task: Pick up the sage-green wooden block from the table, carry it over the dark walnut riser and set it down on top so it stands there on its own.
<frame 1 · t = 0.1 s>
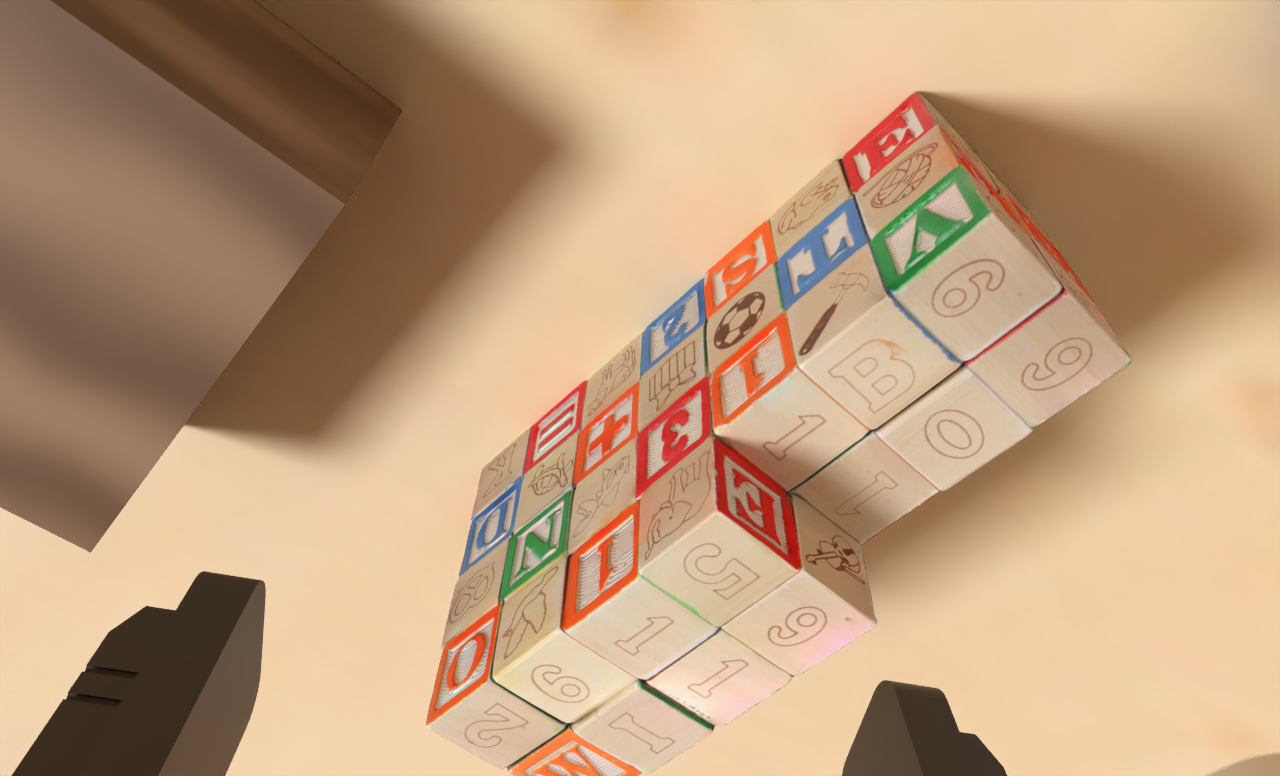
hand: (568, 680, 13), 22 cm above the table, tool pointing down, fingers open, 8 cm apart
stack of blocks: (730, 349, 37), on the table
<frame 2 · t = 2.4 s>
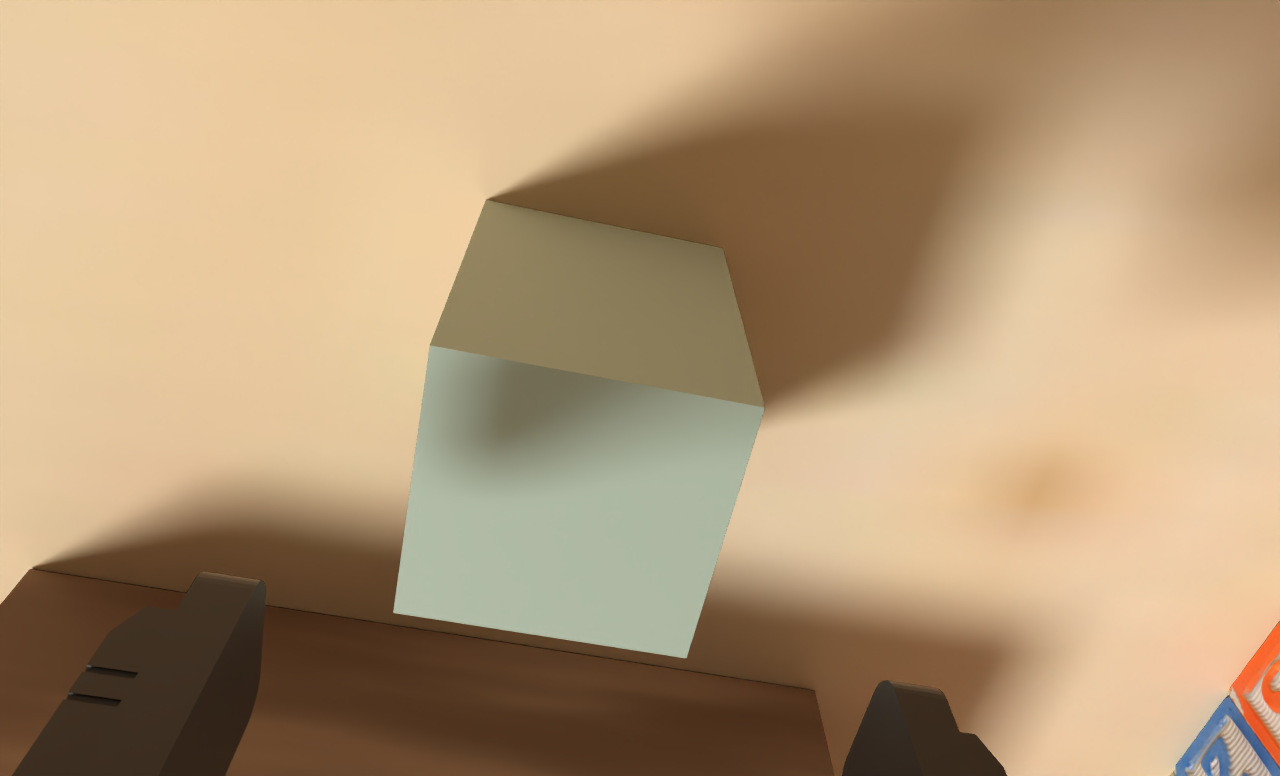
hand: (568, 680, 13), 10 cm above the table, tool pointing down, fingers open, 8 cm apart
sage block: (583, 331, 22), on the table
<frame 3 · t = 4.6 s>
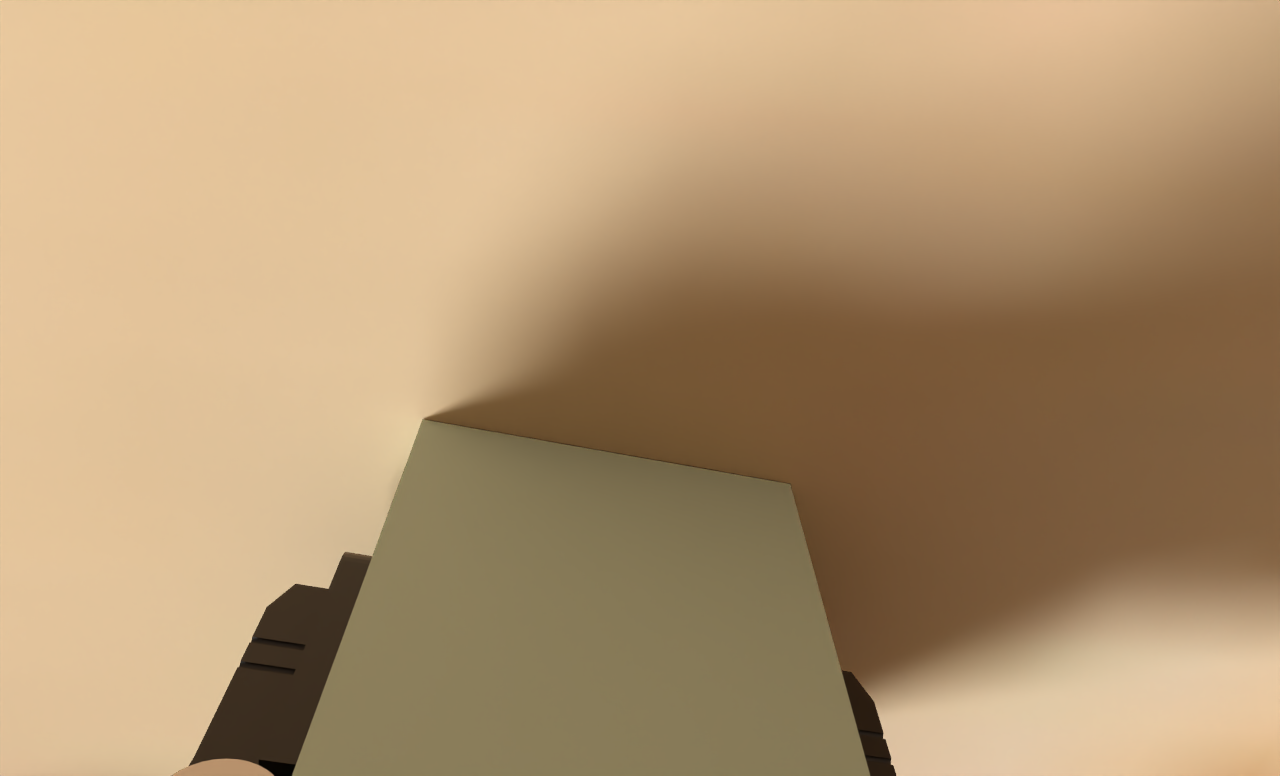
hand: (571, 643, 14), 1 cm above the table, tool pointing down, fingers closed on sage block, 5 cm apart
sage block: (576, 599, 15), on the table, touching gripper
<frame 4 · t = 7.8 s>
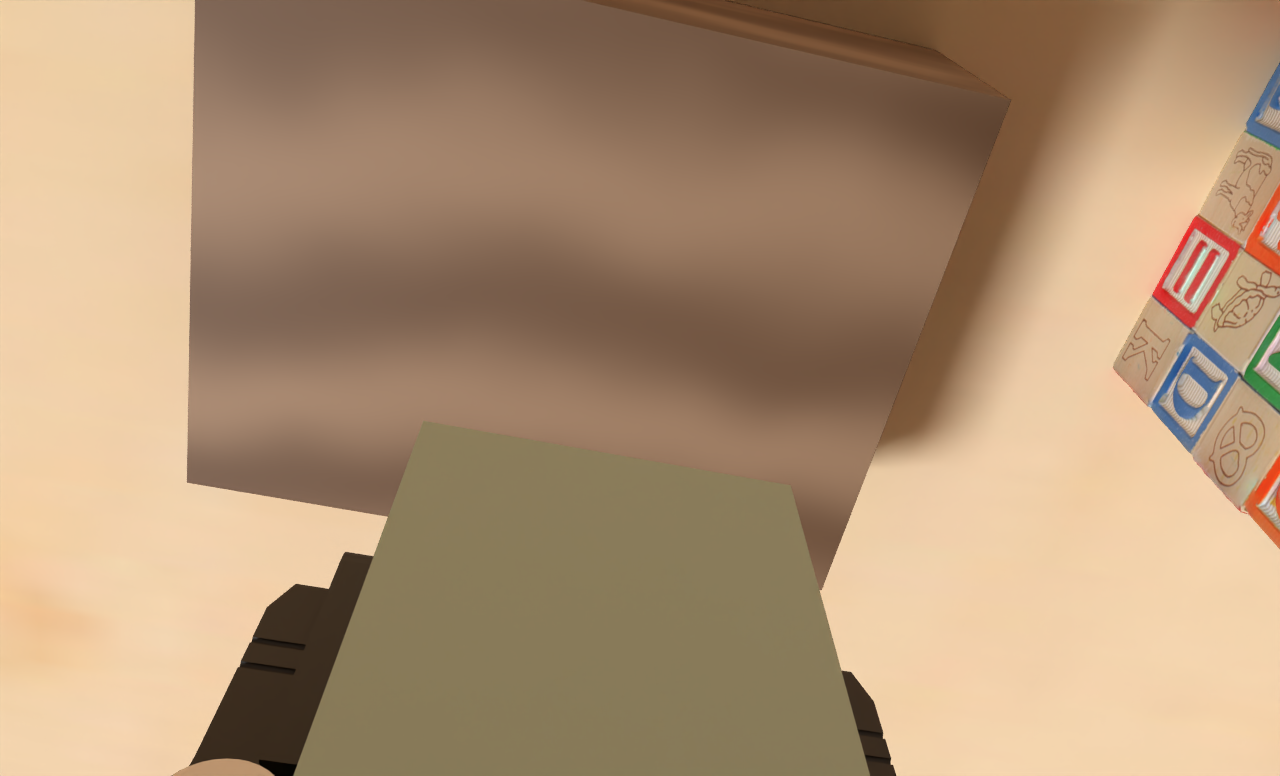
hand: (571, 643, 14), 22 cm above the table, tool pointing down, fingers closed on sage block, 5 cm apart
sage block: (576, 600, 15), point 21 cm above the table, touching gripper
walnut riser: (573, 224, 34), on the table
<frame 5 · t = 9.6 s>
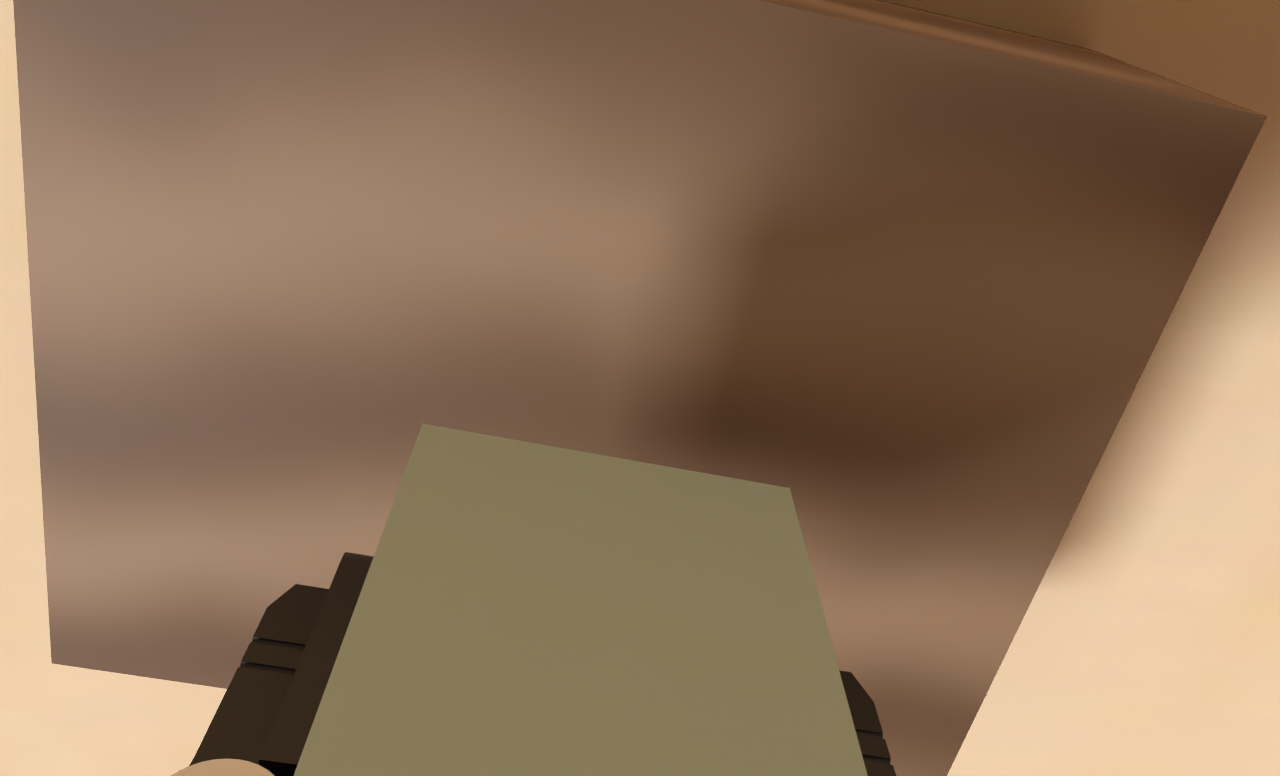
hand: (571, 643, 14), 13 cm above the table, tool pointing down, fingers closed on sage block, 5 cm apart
sage block: (575, 602, 15), point 12 cm above the table, touching gripper
walnut riser: (592, 289, 26), on the table
when the fingers open (9 cm above the table, at t = 11.3 s): sage block stays where it is, resting on walnut riser.
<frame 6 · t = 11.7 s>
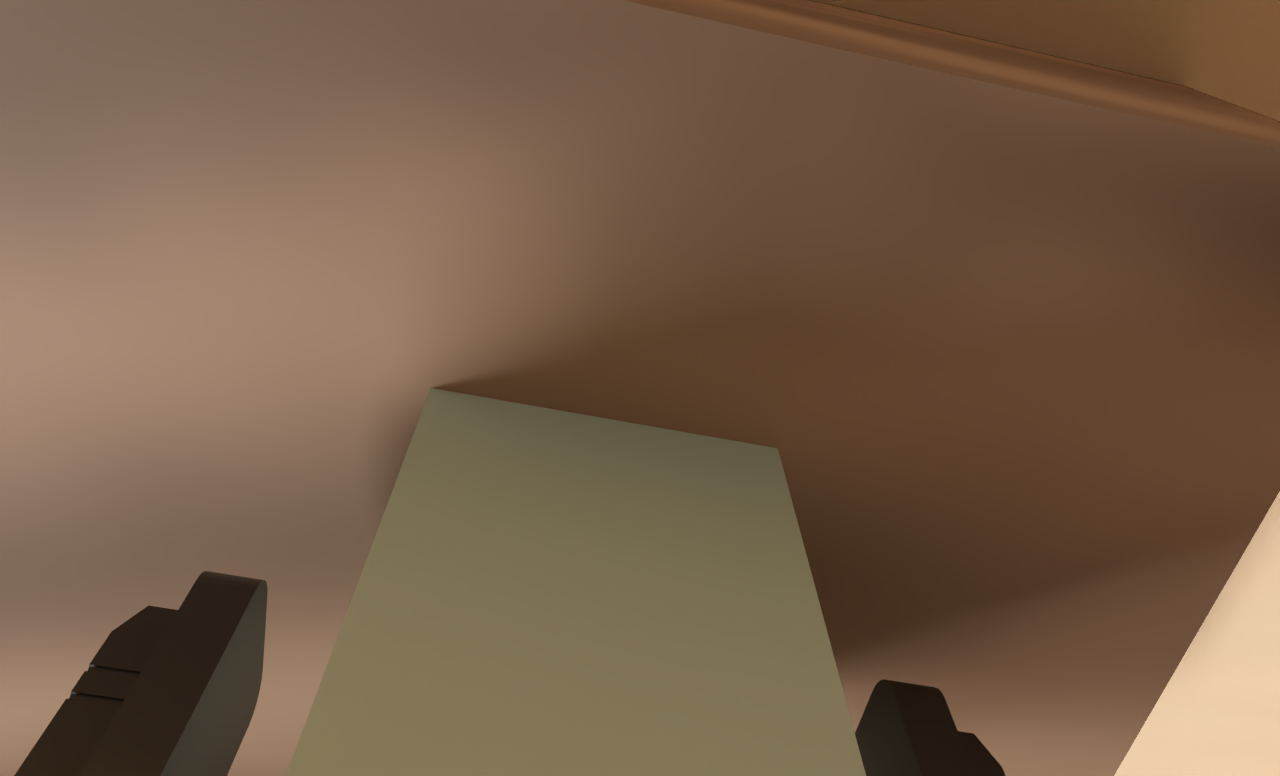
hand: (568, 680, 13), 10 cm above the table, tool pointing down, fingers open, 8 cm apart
sage block: (576, 560, 16), point 7 cm above the table, touching walnut riser
walnut riser: (590, 363, 22), on the table
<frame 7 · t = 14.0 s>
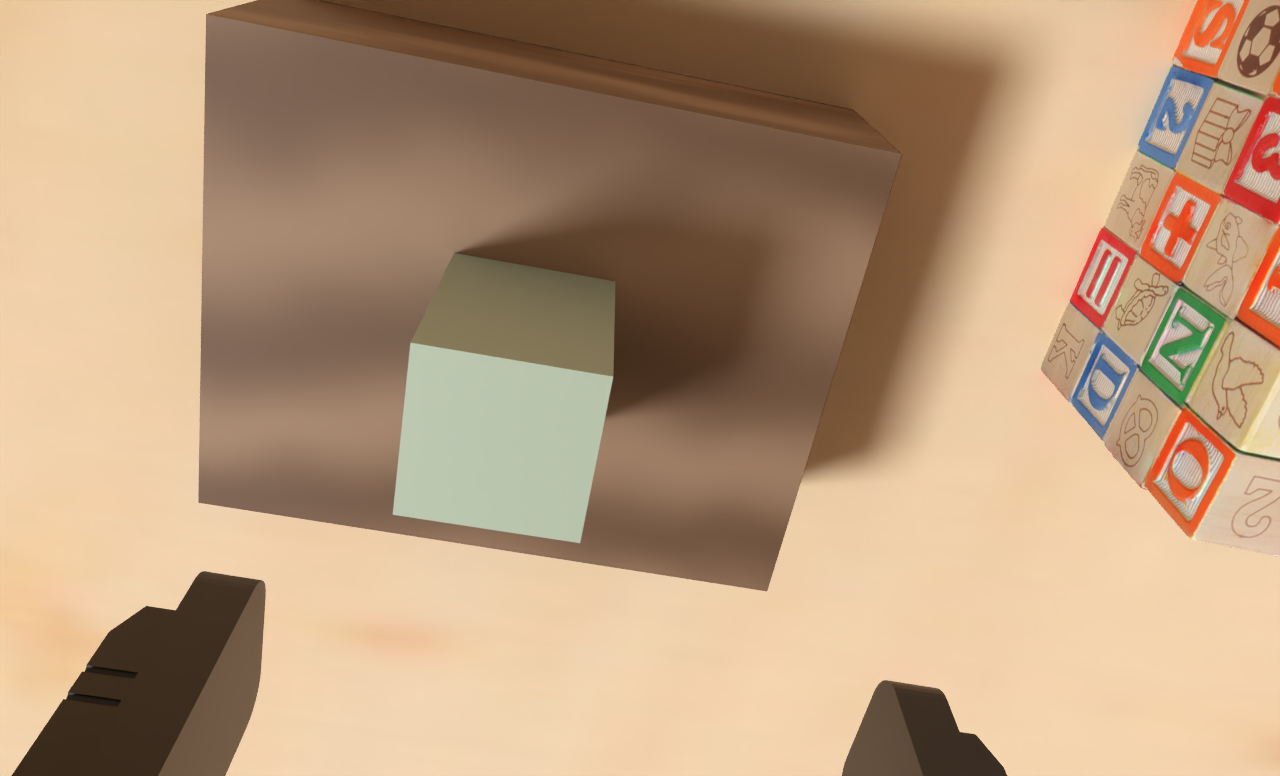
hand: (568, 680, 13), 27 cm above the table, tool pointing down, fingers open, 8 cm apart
sage block: (523, 341, 32), point 7 cm above the table, touching walnut riser
stack of blocks: (1224, 123, 37), on the table
walnut riser: (540, 269, 39), on the table
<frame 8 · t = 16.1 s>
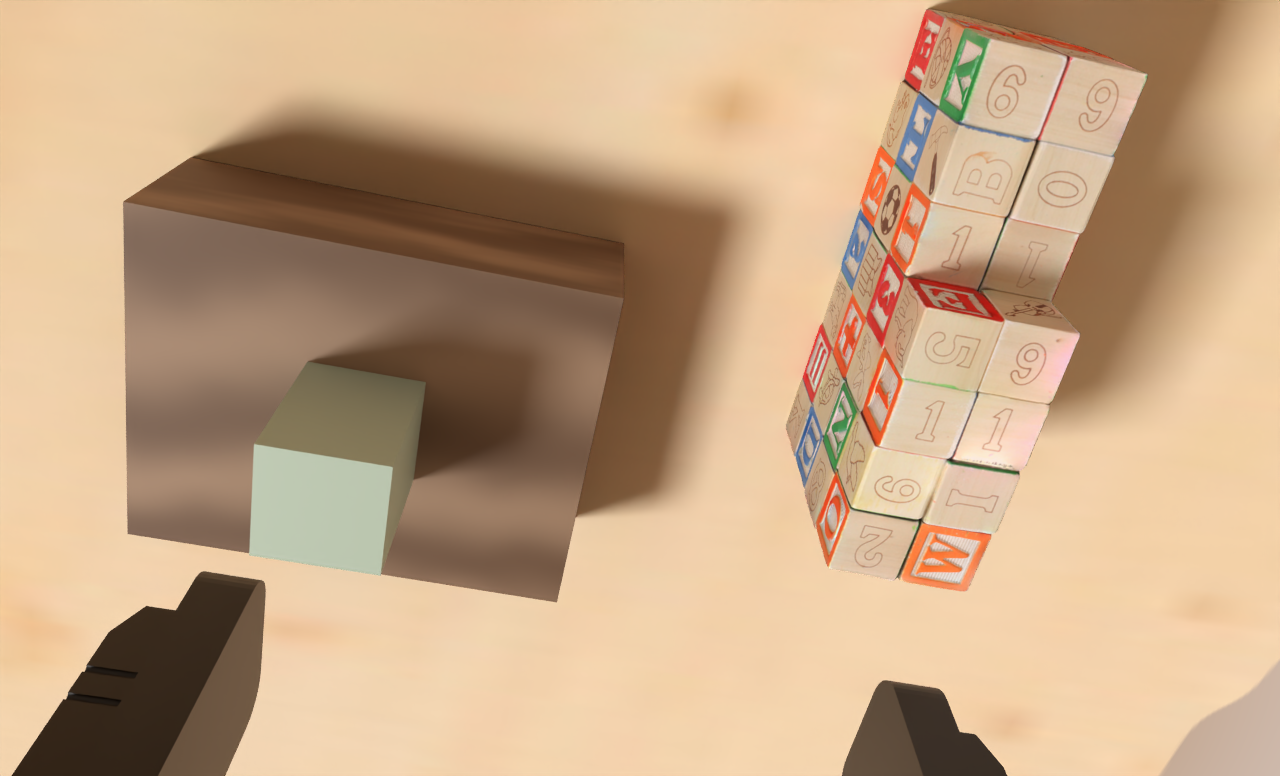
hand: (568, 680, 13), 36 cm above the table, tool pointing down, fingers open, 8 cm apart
sage block: (362, 422, 44), point 7 cm above the table, touching walnut riser
stack of blocks: (907, 248, 49), on the table
walnut riser: (394, 354, 51), on the table
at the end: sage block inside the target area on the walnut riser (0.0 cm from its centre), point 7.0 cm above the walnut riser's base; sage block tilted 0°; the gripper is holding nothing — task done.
